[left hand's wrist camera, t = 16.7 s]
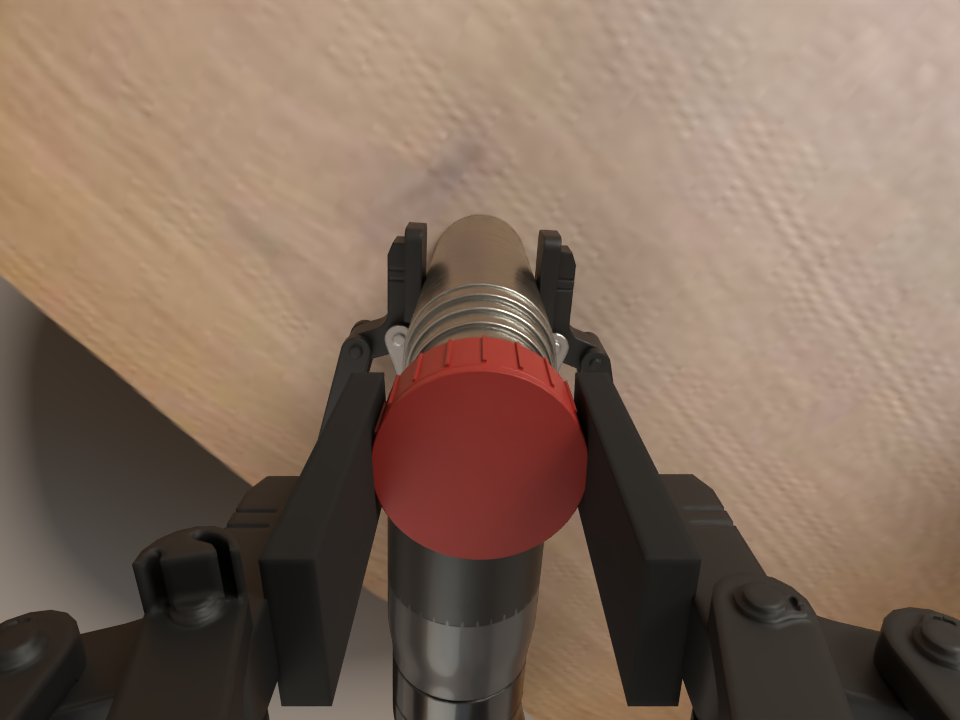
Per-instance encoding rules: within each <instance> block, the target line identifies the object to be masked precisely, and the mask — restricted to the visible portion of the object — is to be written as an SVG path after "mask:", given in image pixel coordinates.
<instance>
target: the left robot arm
mask: <svg viewBox="0 0 960 720" xmlns="http://www.w3.org/2000/svg"><path fill="white" fill-rule="evenodd" d="M384 401H385V402H386V397H385V381H384V372H383V373H351V375H350V377H349V379H348V381H347V383H346V385H345V387H344V389H343V391H342V393H341V395H340V397H339V399H338V401H337V403H336V405H335V407H334V409H333V411H332V413H331V415H330V417H329V419H328V421H327V423H326V425H325V427H324V429H323V431H322V433H321V435H320V437H319V439H318V441H317V443H316V445H315V447H314V449H313V451H312V453H311V455H310V457H309V459H308V461H307V463H306V465H305V467H304V469H303V471H302V473H301V475H300V476H267V477H266V478H264V479H263V480H262V481H260V482H259V483H258V484H256V485H255V486H254V487H252V488H251V489H250V490H248V491H247V492H246V494H245V496H244V497H243V499H242V500H241V502H240V504H239V505H238V507H237V509H236V513H233V515H232V517H231V518H230V520H229V521H228V523H227V528H224V529H223V528H219V527H215V526H202V527H192V528H188V529H184V530H180V531H176V532H173V533H171V534H169V535H167V536H165V537H162V538H160V539H158V540H156V541H155V542H153V543H152V544H151V545H149V546H148V547H147V548H145V549H144V550H143V551H141V553H140V554H139V555H138V557H137V558H136V560H135V561H134V562H133V564H132V566H133V570H134V574H135V578H136V582H137V586H138V590H139V594H140V597H141V602H142V605H143V609H144V613H145V614H144V617H143V618H142V619H139V620H136V621H132V622H129V623H126V624H122V625H118V626H113V627H109V628H105V629H100V630H96V631H92V632H88V633H83V634H80V632H79V629H78V625H77V622H76V620H75V619H73V618H72V617H71V616H70V615H69V614H68V613H65V612H60V611H54V610H46V611H38V612H30V613H27V614H24V615H21V616H18V617H15V618H12V619H9V620H6V621H4V622H3V623H1V624H0V720H269V714H268V706H269V703H270V700H271V697H272V694H273V692H274V689H275V686H276V683H277V681H278V687H279V693H280V699H281V705H282V706H332V703H333V699H334V695H335V691H336V687H337V683H338V679H339V675H340V671H341V667H342V663H343V659H344V655H345V651H346V647H347V643H348V639H349V635H350V631H351V627H352V624H353V619H354V616H355V612H356V608H357V604H358V599H359V595H360V591H361V588H362V584H363V580H364V576H365V572H366V568H367V564H368V560H369V556H370V552H371V548H372V544H373V540H374V536H375V532H376V528H377V524H378V520H379V516H380V512H381V508H382V506H381V504H380V502H379V500H378V498H377V495H376V493H375V489H374V476H373V462H372V447H373V442H374V439H375V436H376V435H375V434H374V431H375V428H376V425H377V422H378V419H379V416H380V413H381V410H382V407H383V404H384ZM574 403H575V406H576V409H577V416H578V419H579V422H580V425H581V428H582V431H583V434H584V437H585V441H586V444H587V448H588V456H587V471H586V484H585V491H584V494H583V497H582V499H581V501H580V503H579V505H578V509H579V513H580V517H581V521H582V525H583V529H584V533H585V537H586V541H587V545H588V549H589V553H590V557H591V561H592V565H593V569H594V573H595V577H596V581H597V585H598V589H599V593H600V597H601V601H602V605H603V609H604V613H605V617H606V621H607V625H608V629H609V633H610V637H611V641H612V645H613V649H614V653H615V657H616V661H617V665H618V669H619V673H620V677H621V681H622V685H623V689H624V693H625V697H626V701H627V705H628V706H678V703H679V697H680V691H681V684H682V679H683V681H684V684H685V687H686V690H687V692H688V695H689V698H690V701H691V704H692V706H693V708H692V714H691V720H960V621H959V620H957V619H955V618H953V617H950V616H947V615H944V614H941V613H938V612H935V611H932V610H928V609H920V608H911V607H908V608H903V609H897V610H893V611H892V612H891V613H890V614H888V615H887V616H886V617H885V618H884V620H883V624H882V627H881V630H880V632H879V631H875V630H870V629H866V628H862V627H857V626H853V625H849V624H844V623H840V622H836V621H832V620H829V619H826V618H823V617H819V616H817V615H816V613H815V612H814V610H813V608H812V607H811V605H810V604H809V602H808V601H807V599H806V598H804V597H803V596H802V595H801V594H800V593H798V592H797V591H796V590H795V589H794V588H792V587H791V586H789V585H787V584H785V583H783V582H781V581H779V580H777V579H775V578H772V577H768V576H767V575H766V574H765V572H764V571H763V569H762V567H761V566H760V564H759V563H758V561H757V559H756V558H755V556H754V555H753V553H752V551H751V550H750V548H749V547H748V545H747V543H746V542H745V540H744V539H743V537H742V535H741V534H740V532H739V531H738V529H737V527H736V526H733V521H732V519H731V518H730V516H729V515H728V513H727V511H724V507H723V505H722V503H721V502H720V500H719V499H718V497H717V495H716V494H715V492H714V491H713V489H711V488H710V487H709V486H707V485H706V484H705V483H703V482H702V481H701V480H699V479H698V478H697V477H695V476H694V475H693V474H659V473H658V471H657V469H656V467H655V465H654V463H653V461H652V459H651V457H650V455H649V453H648V451H647V449H646V447H645V445H644V443H643V441H642V439H641V437H640V435H639V433H638V431H637V429H636V427H635V425H634V423H633V421H632V419H631V417H630V415H629V413H628V411H627V409H626V407H625V405H624V403H623V401H622V399H621V397H620V395H619V393H618V391H617V389H616V387H615V385H614V384H613V382H612V380H611V378H610V376H609V374H608V373H576V374H575V390H574Z"/></svg>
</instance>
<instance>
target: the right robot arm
mask: <svg viewBox="0 0 960 720" xmlns="http://www.w3.org/2000/svg"><path fill="white" fill-rule="evenodd" d="M426 252H427V224H426V223H414V222H409V224H408V225H407V227H406V229H405V237H403V236H397V237H396V239H395V240H394V242H393V243H392V246H391V248H390V251H389V253H388V314H387V315H386V316H384V317H383V318H380V319H377V320H373V321H369V320H361V321H359V322H357V323H356V324H355V325H354V327H353V328H352V330H351V333H350V335H349V337H348V338H347V339H346V340H345V342H344V343H343V345H342V347H341V351H340V355H339V359H338V363H337V367H336V371H335V375H334V378H333V382H332V386H331V390H330V394H329V398H328V402H327V406H326V410H325V414H324V418H323V421H322V425H321V429H320V433H319V437H320V435H321V433H322V431H323V429H324V427H325V425H326V423H327V421H328V419H329V417H330V415H331V413H332V411H333V409H334V407H335V405H336V403H337V401H338V399H339V397H340V395H341V393H342V391H343V389H344V387H345V385H346V383H347V381H348V379H349V377H350V375H351V373H369V371H370V367H371V364H372V360H373V358H376V357H380V356H383V355H387V354H389V355H390V357H391V360H392V363H393V366H394V368H395V371H396V374H398V375H401V373H402V372H403V353H404V343H405V339H406V334H407V331H408V328H409V326H410V323H411V320H412V317H413V314H414V311H415V308H416V305H417V302H418V299H419V296H420V293H421V290H422V287H423V284H424V281H425V278H426ZM575 269H576V264H575V261H574V257H573V254H572V252H571V250H570V249H569V247H568V246H563V245H561V236H560V234H559V233H558V231H554V230H540V231H539V238H538V249H537V260H536V271H535V282H536V285H537V288H538V291H539V294H540V297H541V300H542V303H543V306H544V309H545V312H546V315H547V318H548V321H549V324H550V327H551V329H552V332H553V336H554V340H555V346H556V357H557V373H558V371H559V369H560V367H561V365H562V363H565V364H568V365H570V366H573V367H575V368H577V373H608V374H609V376H610V378H611V380H612V382H613V377H612V370H611V363H610V359H609V357H608V355H607V353H606V351H605V349H604V348H603V346H602V344H601V342H600V340H599V338H598V337H597V336H596V335H595V334H594V333H591V332H582V331H580V330H577V329H575V328H573V327H572V326H570V325H569V323H570V313H571V304H572V295H573V286H574V278H575ZM319 437H318V439H319ZM543 546H544V542H542V543H541V544H539V545H537V546H535V547H533V548H531V549H529V550H527V551H524V552H521V553H519V554H516V555H512V556H508V557H504V558H497V559H487V560H473V559H462V558H457V557H451V556H448V555H444V554H441V553H438V552H435V551H433V550H431V549H428V548H426V547H424V546H422V545H421V544H419V543H417V542H415V541H414V540H412V539H411V538H410V537H408V536H407V535H406V534H404V533H403V532H402V531H401V530H400V529H399V528H398V527H397V526H396V525H395V524H394V523H393V522H392V521H391V519H390V518H389V517H388V619H389V626H390V632H391V637H392V643H393V712H394V719H395V720H525V717H524V712H523V708H522V702H521V700H522V693H523V683H524V673H525V664H526V656H527V650H528V646H529V643H530V640H531V636H532V633H533V629H534V624H535V618H536V609H537V601H538V592H539V583H540V574H541V565H542V555H543Z"/></svg>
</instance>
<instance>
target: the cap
mask: <svg viewBox="0 0 960 720" xmlns="http://www.w3.org/2000/svg"><path fill="white" fill-rule="evenodd" d="M374 434H375V435H376V436H375V439H374V442H373V447H372V462H373V476H374V489H375V493H376V495H377V498H378V500H379V502H380V504H381V506H382V508H383V509H384V511H385V513H386V514H387V516H388V517H389V518H390V519H391V521H392V522H393V523H394V524H395V525H396V526H397V527H398V528H399V529H400V530H401V531H402V532H403V533H404V534H406V535H407V536H408V537H410V538H411V539H412V540H414V541H415V542H417V543H419V544H421V545H422V546H424V547H426V548H428V549H431V550H433V551H435V552H438V553H441V554H444V555H448V556H451V557H457V558H462V559H473V560H487V559H497V558H504V557H508V556H512V555H516V554H519V553H521V552H524V551H527V550H529V549H531V548H533V547H535V546H537V545H539V544H541V543H542V542H544V541H546V540H547V539H549V538H550V537H551V536H553V535H554V534H555V533H556V532H557V531H559V530H560V529H561V528H562V527H563V526H564V525H565V523H566V522H567V521H568V520H569V519H570V518H571V516H572V515H573V513H574V512H575V511H576V509H577V507H578V505H579V503H580V501H581V499H582V497H583V494H584V491H585V484H586V471H587V456H588V448H587V444H586V441H585V437H584V434H583V431H582V428H581V425H580V422H579V419H578V416H577V409H576V406H575V403H574V400H573V397H572V394H571V391H570V388H569V385H568V383H567V381H565V382H564V381H563V379H562V378H561V376H560V375H559V374H558V373H557V371H556V370H555V369H554V368H553V367H552V366H551V365H550V364H549V362H548V359H547V358H546V357H545V358H544V359H543V358H542V357H540V356H539V355H538V354H536V353H535V352H533V351H531V350H529V349H527V348H525V347H523V346H521V345H520V343H519V342H517V341H516V342H515V343H513V342H510V341H506V340H502V339H498V338H488V337H486V335H482V337H470V338H463V339H457V340H453V341H452V339H449V340H448V342H446V343H443V344H441V345H439V346H436V347H434V348H432V349H430V350H428V351H427V352H425V353H423V354H422V353H419V354H418V358H417V359H415V360H414V361H413V362H411V363H410V365H409V366H408V367H407V368H406V369H405V370H404V371H403V372H402V373H401V375H398V374H397V376H396V378H395V381H394V384H393V387H392V389H391V391H390V394H389V397H388V400H387V402H385V401H384V404H383V407H382V410H381V413H380V416H379V419H378V422H377V425H376V428H375V431H374Z"/></svg>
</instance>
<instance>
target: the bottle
mask: <svg viewBox="0 0 960 720" xmlns="http://www.w3.org/2000/svg"><path fill="white" fill-rule="evenodd" d="M482 335H486V337H488V338H498V339H502V340H506V341H510V342H513V343H515V342H516V341H517V342H519V343H520V345H521V346H523V347H525V348H527V349H529V350H531V351H533V352H535V353H536V354H538V355H539V356H540V357H542V358H543V359H544V358H545V357H546V358H547V359H548V362H549V364H550V365H551V366H552V367H553V368H554V369H555V370H556V371H557V357H556V346H555V340H554V336H553V332H552V329H551V327H550V324H549V321H548V318H547V315H546V312H545V309H544V306H543V303H542V300H541V297H540V294H539V291H538V288H537V285H536V282H535V279H534V276H533V273H532V270H531V267H530V264H529V261H528V258H527V255H526V253H525V250H524V247H523V244H522V241H521V240H520V238H519V236H518V235H517V233H516V232H515V231H514V230H513V229H512V228H511V227H510V226H509V225H508V224H507V223H505V222H503V221H502V220H500V219H498V218H495V217H492V216H487V215H473V216H468V217H465V218H462V219H460V220H458V221H456V222H455V223H453V224H452V225H451V226H449V227H448V228H447V229H446V230H445V231H444V233H443V234H442V236H441V237H440V239H439V241H438V243H437V246H436V249H435V252H434V255H433V258H432V260H431V263H430V266H429V269H428V272H427V275H426V278H425V281H424V284H423V287H422V290H421V293H420V296H419V299H418V302H417V305H416V308H415V311H414V314H413V317H412V320H411V323H410V326H409V328H408V331H407V334H406V339H405V343H404V353H403V371H404V370H405V369H406V368H407V367H408V366H409V365H410V363H411V362H413V361H414V360H415V359H417V358H418V354H419V353H422V354H423V353H425V352H427V351H428V350H430V349H432V348H434V347H436V346H439V345H441V344H443V343H446V342H448V340H449V339H452V341H453V340H457V339H463V338H470V337H482Z"/></svg>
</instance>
